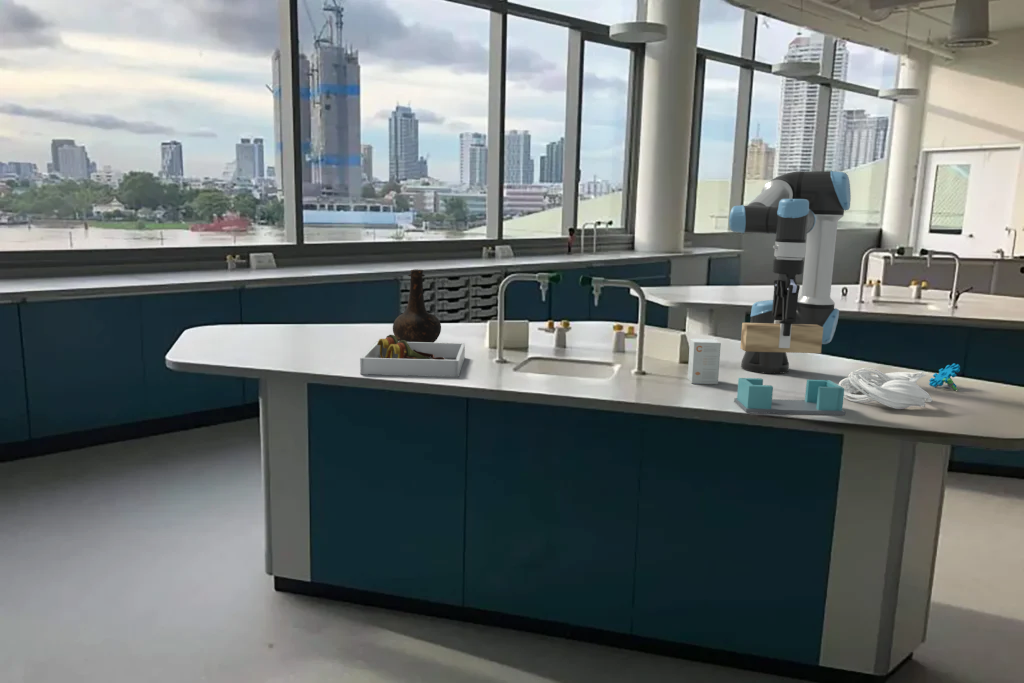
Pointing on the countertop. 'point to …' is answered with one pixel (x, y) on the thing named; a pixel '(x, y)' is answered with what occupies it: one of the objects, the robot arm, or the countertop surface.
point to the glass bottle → (416, 315)
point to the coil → (886, 388)
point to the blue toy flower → (945, 376)
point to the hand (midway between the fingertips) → (780, 345)
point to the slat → (767, 338)
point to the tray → (416, 361)
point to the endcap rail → (817, 400)
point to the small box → (704, 361)
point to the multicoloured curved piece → (401, 350)
